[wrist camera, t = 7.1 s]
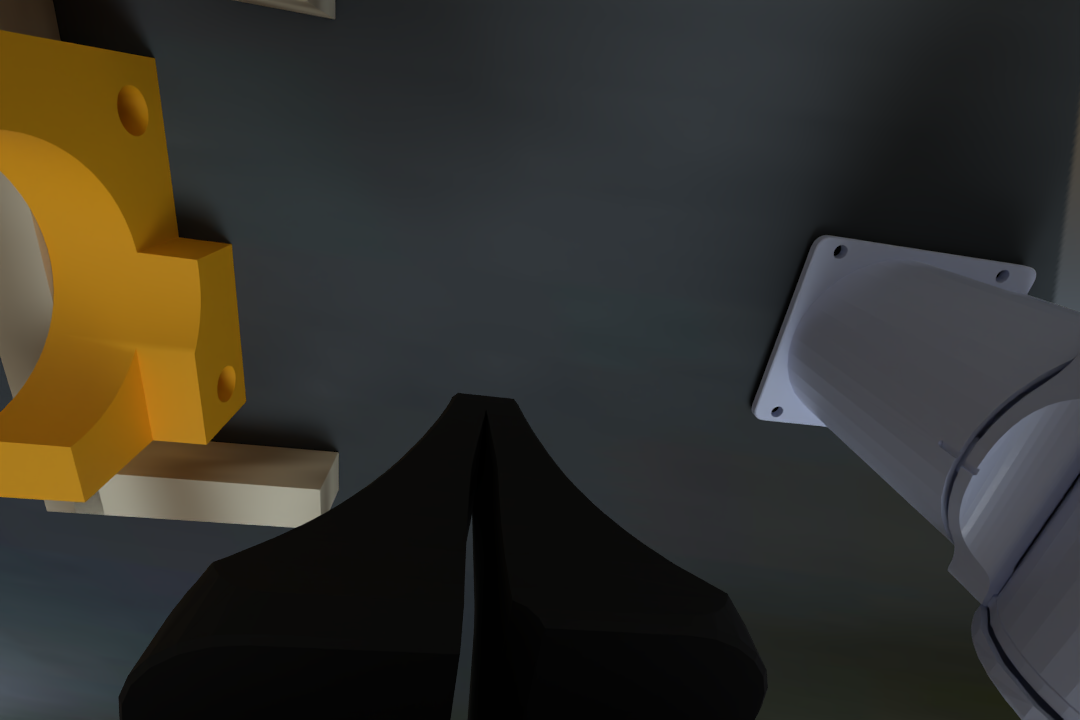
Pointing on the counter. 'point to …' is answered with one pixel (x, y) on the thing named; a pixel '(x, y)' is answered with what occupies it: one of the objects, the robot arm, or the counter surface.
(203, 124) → the counter surface
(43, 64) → the pipe clamp
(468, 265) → the counter surface
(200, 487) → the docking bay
